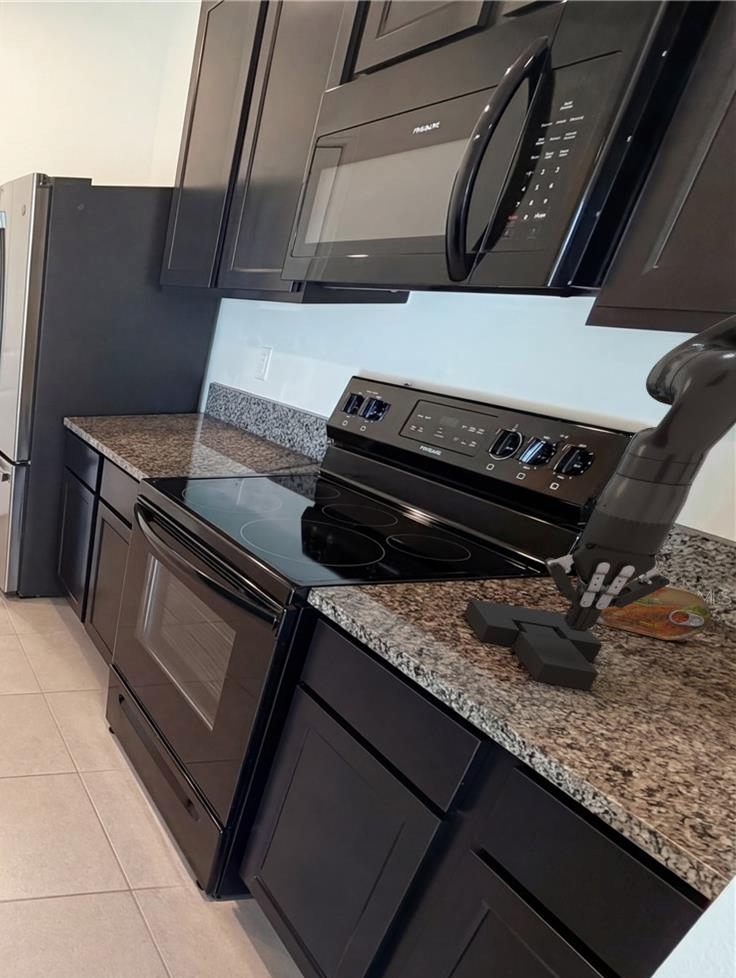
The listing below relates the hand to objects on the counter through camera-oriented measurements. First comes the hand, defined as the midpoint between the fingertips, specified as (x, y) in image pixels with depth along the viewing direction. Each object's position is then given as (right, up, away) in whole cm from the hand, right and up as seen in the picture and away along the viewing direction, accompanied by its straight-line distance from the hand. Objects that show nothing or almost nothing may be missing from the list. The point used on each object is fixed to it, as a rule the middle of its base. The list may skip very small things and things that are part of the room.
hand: (575, 628), depth 92 cm
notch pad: (+4, -2, +12) cm, 13 cm away
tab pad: (+1, -5, +5) cm, 8 cm away
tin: (+24, -1, +16) cm, 29 cm away
